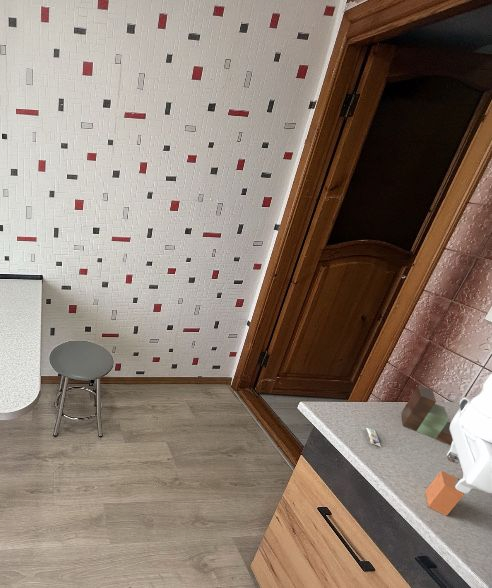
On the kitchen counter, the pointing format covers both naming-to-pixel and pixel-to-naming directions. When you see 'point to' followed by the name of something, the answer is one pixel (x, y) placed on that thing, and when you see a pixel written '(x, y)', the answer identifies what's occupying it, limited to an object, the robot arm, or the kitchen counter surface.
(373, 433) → the granola bar
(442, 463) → the kitchen counter surface
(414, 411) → the step rack
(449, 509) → the matte orange cuboid
